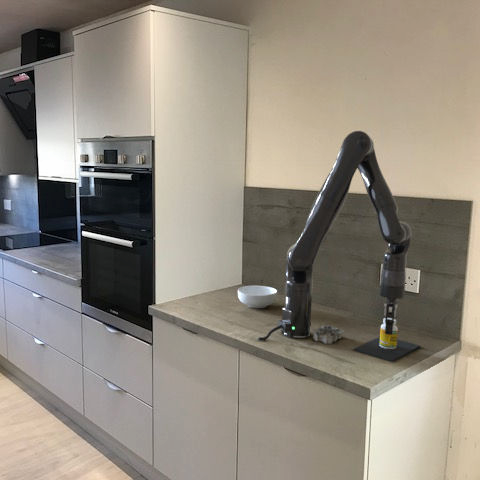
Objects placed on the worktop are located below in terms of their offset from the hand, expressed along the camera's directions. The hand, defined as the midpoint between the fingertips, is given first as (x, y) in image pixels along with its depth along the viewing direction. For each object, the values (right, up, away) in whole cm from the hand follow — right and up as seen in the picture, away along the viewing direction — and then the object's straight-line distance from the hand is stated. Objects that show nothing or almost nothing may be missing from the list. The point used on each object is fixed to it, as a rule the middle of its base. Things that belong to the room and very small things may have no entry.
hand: (388, 331), depth 176 cm
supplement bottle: (0, -6, +1) cm, 6 cm away
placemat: (0, -6, +1) cm, 6 cm away
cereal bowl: (-35, +2, +50) cm, 61 cm away
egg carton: (-18, -5, +10) cm, 21 cm away
